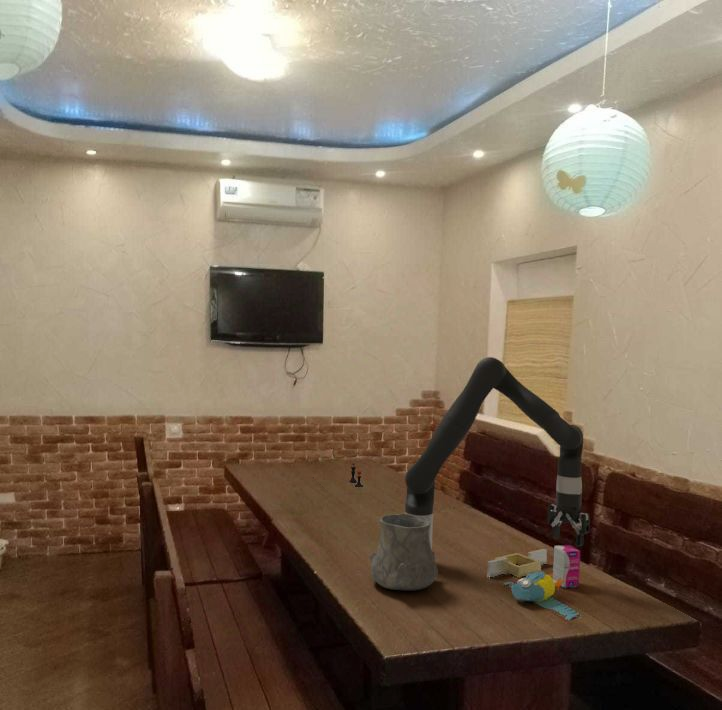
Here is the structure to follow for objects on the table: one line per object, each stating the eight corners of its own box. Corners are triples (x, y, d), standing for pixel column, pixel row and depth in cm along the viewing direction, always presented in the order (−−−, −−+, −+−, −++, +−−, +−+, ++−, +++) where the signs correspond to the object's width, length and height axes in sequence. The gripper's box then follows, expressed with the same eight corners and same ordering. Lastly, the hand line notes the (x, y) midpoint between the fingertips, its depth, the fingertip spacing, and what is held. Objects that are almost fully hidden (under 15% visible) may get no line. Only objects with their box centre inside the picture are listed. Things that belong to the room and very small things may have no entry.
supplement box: (562, 589, 194) (564, 551, 194) (552, 581, 200) (553, 545, 200) (579, 587, 196) (580, 550, 196) (568, 580, 202) (569, 544, 202)
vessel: (392, 566, 210) (394, 505, 209) (450, 584, 196) (452, 519, 195) (349, 584, 193) (351, 518, 192) (409, 605, 179) (412, 534, 178)
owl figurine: (594, 585, 176) (552, 595, 169) (593, 616, 176) (552, 627, 169) (524, 554, 201) (485, 561, 194) (524, 581, 201) (485, 589, 194)
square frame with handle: (500, 583, 198) (500, 567, 198) (476, 572, 206) (477, 557, 206) (557, 568, 212) (557, 553, 212) (533, 559, 221) (533, 544, 221)
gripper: (542, 487, 202) (541, 538, 202) (580, 496, 190) (579, 551, 190) (558, 484, 206) (557, 534, 206) (596, 493, 194) (595, 547, 194)
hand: (567, 542), depth 198 cm, fingers open, 8 cm apart
